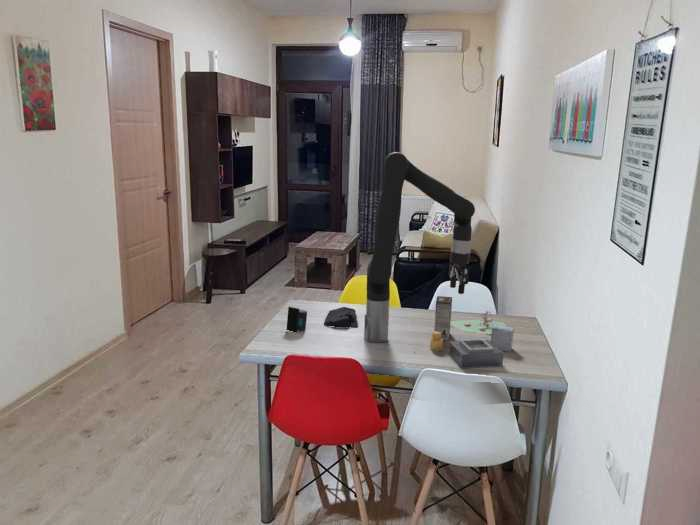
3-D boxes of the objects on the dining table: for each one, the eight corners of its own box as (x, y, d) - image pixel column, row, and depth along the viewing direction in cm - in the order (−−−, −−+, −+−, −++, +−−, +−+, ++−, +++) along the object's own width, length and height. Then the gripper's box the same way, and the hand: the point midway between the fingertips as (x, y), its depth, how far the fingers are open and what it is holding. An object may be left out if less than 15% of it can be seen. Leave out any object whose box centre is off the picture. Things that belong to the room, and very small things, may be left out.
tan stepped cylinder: (432, 351, 217) (433, 335, 215) (428, 346, 222) (429, 331, 220) (443, 350, 218) (445, 334, 216) (439, 346, 222) (440, 330, 221)
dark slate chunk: (359, 313, 261) (360, 304, 260) (357, 329, 240) (357, 319, 238) (327, 312, 262) (327, 302, 261) (322, 328, 240) (322, 317, 239)
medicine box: (512, 348, 222) (514, 327, 220) (510, 352, 218) (512, 331, 216) (492, 344, 225) (493, 324, 223) (489, 348, 221) (491, 327, 219)
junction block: (461, 367, 202) (462, 351, 201) (448, 353, 214) (449, 338, 213) (502, 365, 205) (503, 349, 204) (487, 352, 217) (488, 336, 216)
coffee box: (434, 331, 238) (437, 295, 235) (449, 333, 237) (452, 296, 234) (433, 339, 230) (435, 301, 226) (449, 340, 228) (451, 303, 225)
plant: (450, 333, 238) (451, 313, 236) (446, 318, 258) (448, 299, 256) (510, 337, 236) (512, 317, 234) (502, 321, 256) (503, 302, 254)
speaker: (293, 334, 230) (295, 309, 229) (286, 330, 235) (287, 306, 233) (308, 332, 235) (310, 308, 234) (300, 328, 240) (302, 305, 238)
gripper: (444, 246, 224) (441, 285, 228) (458, 254, 211) (454, 295, 214) (462, 247, 226) (458, 285, 229) (477, 254, 212) (472, 295, 216)
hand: (456, 290), depth 222 cm, fingers open, 8 cm apart
